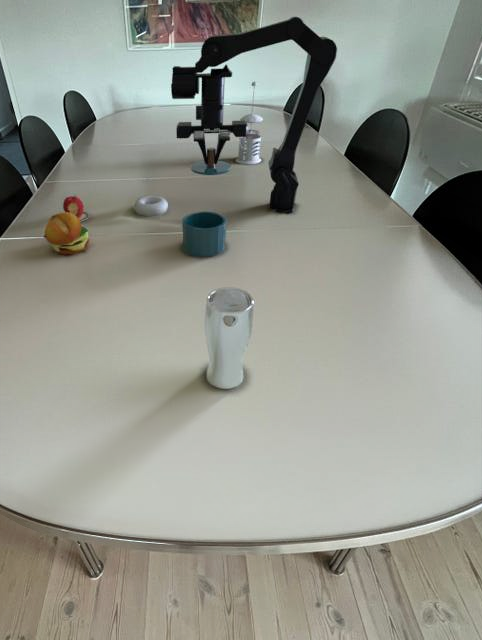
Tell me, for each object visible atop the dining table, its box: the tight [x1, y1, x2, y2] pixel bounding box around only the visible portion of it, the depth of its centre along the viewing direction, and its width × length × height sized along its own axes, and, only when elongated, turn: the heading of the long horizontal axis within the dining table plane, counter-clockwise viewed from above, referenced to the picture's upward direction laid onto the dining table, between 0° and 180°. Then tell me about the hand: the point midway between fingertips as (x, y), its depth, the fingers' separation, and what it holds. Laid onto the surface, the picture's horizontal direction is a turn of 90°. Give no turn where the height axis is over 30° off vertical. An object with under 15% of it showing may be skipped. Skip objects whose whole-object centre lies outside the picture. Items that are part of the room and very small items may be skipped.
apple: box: [62, 194, 91, 223], centre depth 115 cm, size 8×8×6 cm
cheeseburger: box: [43, 211, 90, 255], centre depth 101 cm, size 10×11×10 cm
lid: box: [190, 147, 232, 176], centre depth 113 cm, size 11×11×6 cm
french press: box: [235, 81, 264, 165], centre depth 146 cm, size 10×12×25 cm
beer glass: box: [204, 286, 255, 390], centre depth 62 cm, size 7×7×15 cm
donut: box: [133, 195, 169, 217], centre depth 119 cm, size 10×4×10 cm
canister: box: [181, 211, 227, 258], centre depth 99 cm, size 10×10×7 cm
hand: (211, 164), depth 113 cm, fingers closed on lid, 2 cm apart
